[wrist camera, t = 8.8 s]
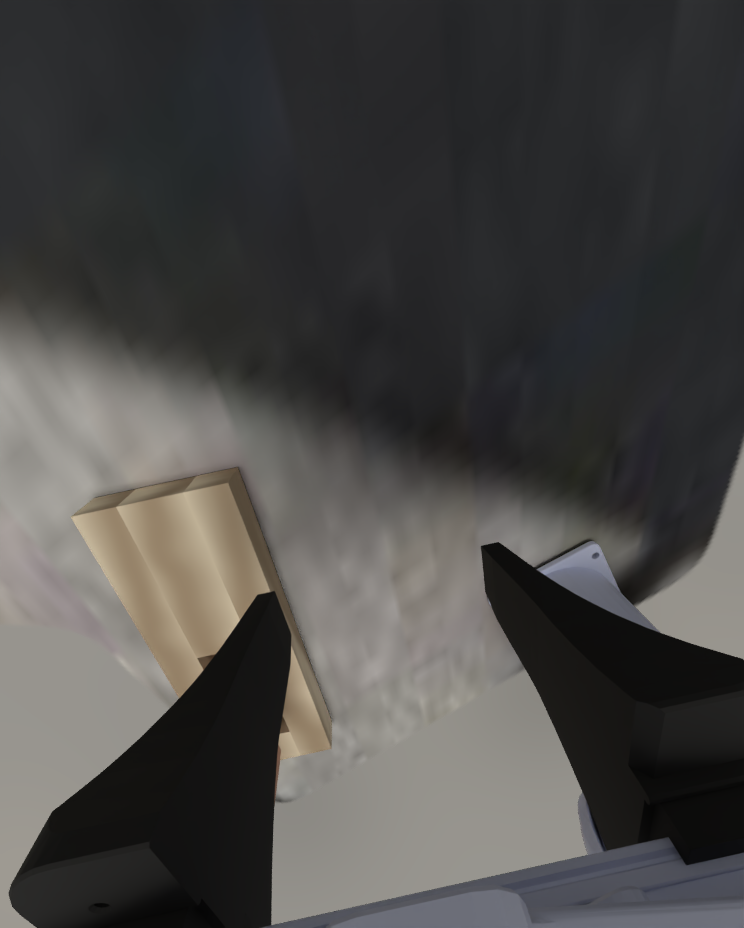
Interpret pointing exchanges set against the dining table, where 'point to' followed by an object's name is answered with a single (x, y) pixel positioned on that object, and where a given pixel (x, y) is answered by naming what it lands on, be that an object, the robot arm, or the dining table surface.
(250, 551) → the rail
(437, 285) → the dining table surface
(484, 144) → the dining table surface
